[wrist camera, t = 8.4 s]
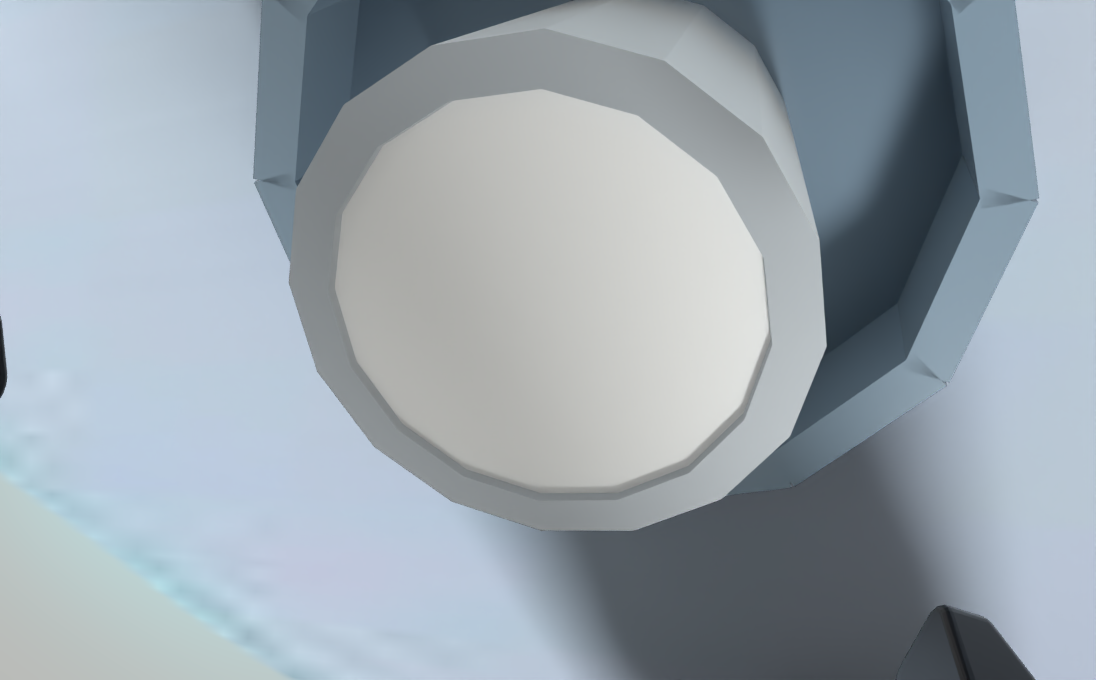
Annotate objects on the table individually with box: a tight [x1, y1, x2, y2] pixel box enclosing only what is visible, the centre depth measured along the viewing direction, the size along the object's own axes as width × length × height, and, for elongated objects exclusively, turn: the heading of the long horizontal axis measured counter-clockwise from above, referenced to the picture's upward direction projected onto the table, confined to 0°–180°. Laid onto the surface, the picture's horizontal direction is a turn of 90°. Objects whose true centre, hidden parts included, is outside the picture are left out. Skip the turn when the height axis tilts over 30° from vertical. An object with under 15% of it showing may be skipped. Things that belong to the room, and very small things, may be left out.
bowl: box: [253, 0, 1039, 496], centre depth 18 cm, size 13×13×3 cm
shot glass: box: [289, 0, 827, 531], centre depth 15 cm, size 7×7×7 cm
